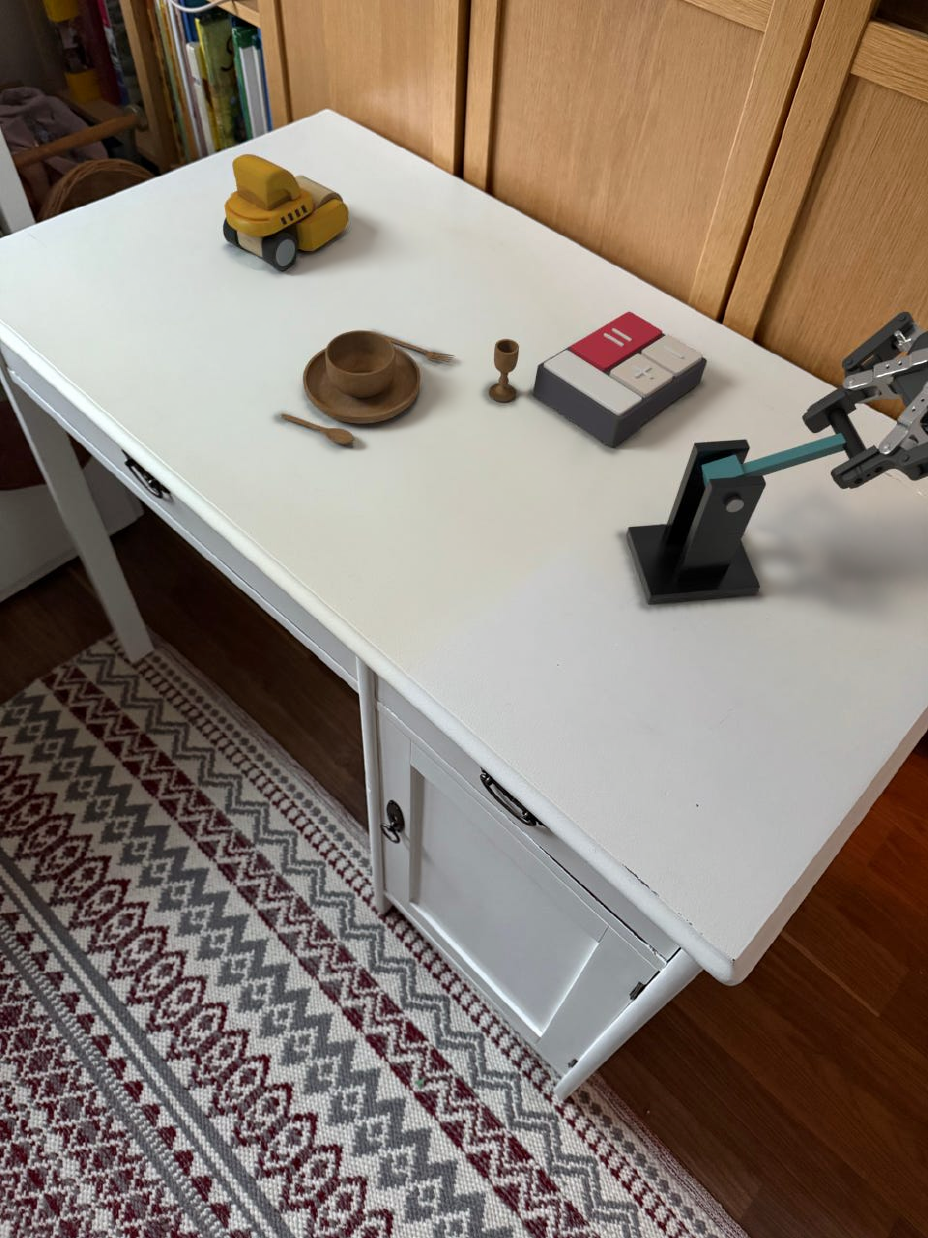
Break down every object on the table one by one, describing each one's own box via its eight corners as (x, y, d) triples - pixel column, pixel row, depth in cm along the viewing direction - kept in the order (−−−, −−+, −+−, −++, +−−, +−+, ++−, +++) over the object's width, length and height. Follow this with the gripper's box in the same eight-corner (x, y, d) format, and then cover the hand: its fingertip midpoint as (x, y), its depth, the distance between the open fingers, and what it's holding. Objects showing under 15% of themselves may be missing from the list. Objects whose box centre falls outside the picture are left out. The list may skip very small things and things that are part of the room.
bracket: (729, 527, 85) (773, 423, 74) (756, 594, 80) (807, 495, 70) (625, 535, 84) (655, 431, 73) (647, 604, 79) (683, 504, 69)
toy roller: (356, 229, 110) (351, 143, 102) (270, 282, 103) (257, 194, 95) (303, 202, 113) (294, 116, 105) (217, 252, 106) (199, 163, 98)
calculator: (711, 353, 94) (621, 414, 87) (699, 387, 97) (612, 448, 90) (628, 304, 98) (536, 359, 91) (620, 338, 101) (530, 393, 94)
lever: (845, 422, 74) (846, 401, 72) (872, 471, 71) (874, 451, 69) (698, 468, 76) (695, 449, 74) (717, 518, 73) (715, 500, 71)
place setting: (359, 324, 100) (357, 277, 95) (522, 387, 95) (528, 340, 90) (266, 418, 91) (258, 370, 86) (441, 493, 86) (443, 447, 81)
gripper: (1108, 415, 62) (873, 540, 71) (1009, 288, 70) (808, 414, 79) (1084, 356, 57) (835, 498, 66) (980, 226, 65) (770, 368, 74)
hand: (821, 452), depth 72 cm, fingers closed on lever, 5 cm apart
